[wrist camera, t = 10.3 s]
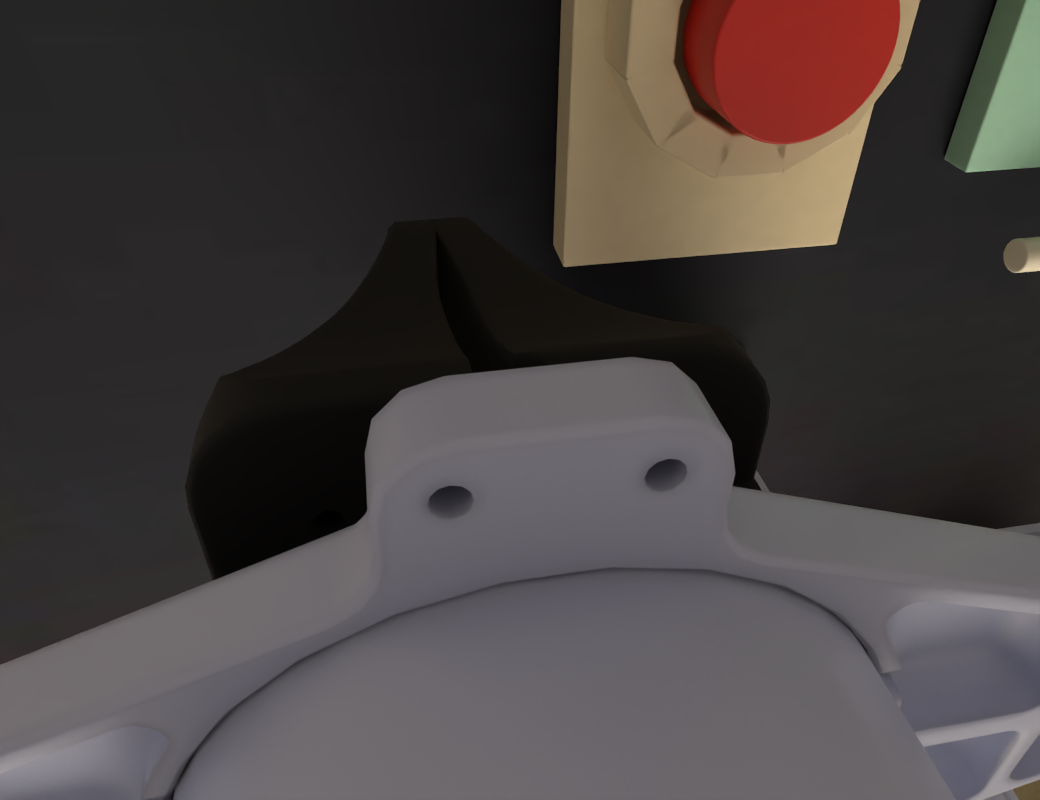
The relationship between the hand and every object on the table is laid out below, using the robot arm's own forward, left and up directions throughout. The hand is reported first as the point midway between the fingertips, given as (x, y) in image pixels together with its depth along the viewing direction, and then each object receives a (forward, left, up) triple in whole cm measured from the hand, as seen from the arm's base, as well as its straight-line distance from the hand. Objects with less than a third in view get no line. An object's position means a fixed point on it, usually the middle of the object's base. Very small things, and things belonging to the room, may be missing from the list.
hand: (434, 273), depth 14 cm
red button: (+2, -9, -7) cm, 12 cm away
